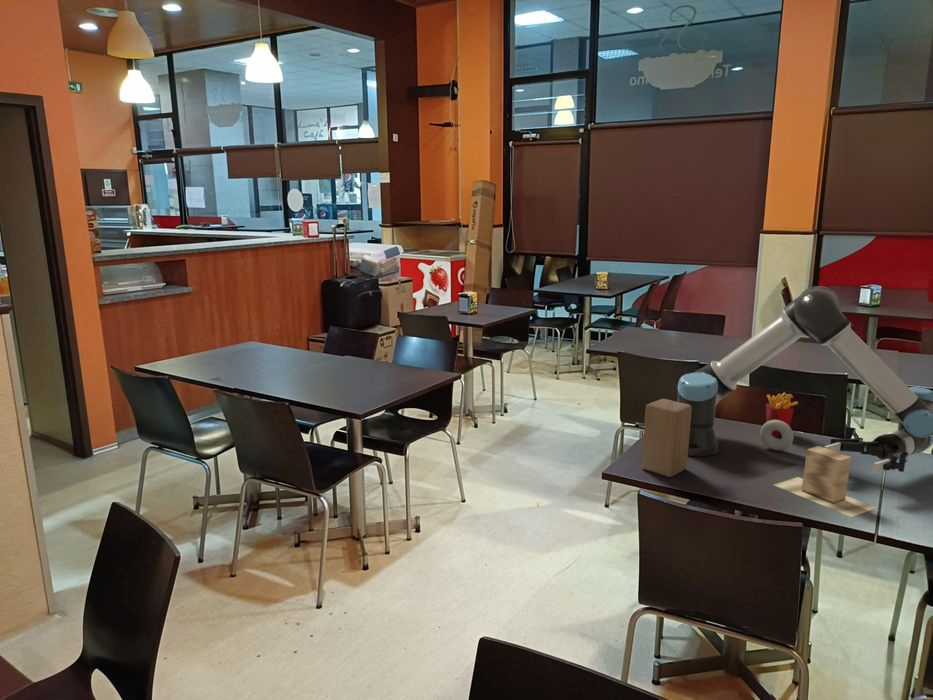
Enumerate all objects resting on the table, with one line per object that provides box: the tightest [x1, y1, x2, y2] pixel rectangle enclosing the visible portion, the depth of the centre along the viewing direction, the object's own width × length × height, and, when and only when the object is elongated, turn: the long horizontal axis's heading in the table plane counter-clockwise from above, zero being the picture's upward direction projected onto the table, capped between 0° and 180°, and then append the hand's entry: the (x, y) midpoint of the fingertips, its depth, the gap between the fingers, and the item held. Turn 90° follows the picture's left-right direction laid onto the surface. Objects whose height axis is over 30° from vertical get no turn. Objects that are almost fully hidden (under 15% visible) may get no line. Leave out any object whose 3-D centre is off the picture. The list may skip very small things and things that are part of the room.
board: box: [773, 476, 877, 518], centre depth 180 cm, size 22×11×2 cm, turn 30°
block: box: [641, 398, 692, 478], centre depth 198 cm, size 10×10×20 cm
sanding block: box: [802, 445, 852, 504], centre depth 179 cm, size 9×5×12 cm, turn 30°
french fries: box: [765, 392, 799, 437], centre depth 228 cm, size 9×8×15 cm
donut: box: [759, 420, 794, 452], centre depth 215 cm, size 10×4×10 cm, turn 49°
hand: (848, 459), depth 183 cm, fingers open, 13 cm apart
